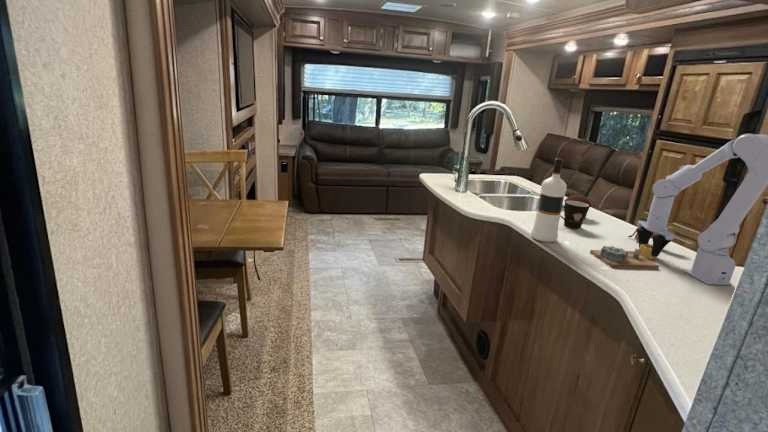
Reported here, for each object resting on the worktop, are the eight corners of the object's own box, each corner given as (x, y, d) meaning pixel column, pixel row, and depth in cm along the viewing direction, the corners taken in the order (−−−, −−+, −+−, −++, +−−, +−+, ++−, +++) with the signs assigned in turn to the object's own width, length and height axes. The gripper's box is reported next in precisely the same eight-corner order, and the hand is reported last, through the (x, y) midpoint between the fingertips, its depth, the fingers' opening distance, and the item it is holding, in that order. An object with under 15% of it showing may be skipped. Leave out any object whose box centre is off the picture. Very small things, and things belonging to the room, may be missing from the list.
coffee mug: (584, 226, 169) (589, 203, 166) (581, 231, 162) (587, 207, 159) (555, 220, 175) (560, 198, 172) (551, 225, 168) (556, 202, 165)
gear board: (658, 269, 129) (661, 257, 128) (611, 267, 127) (614, 255, 126) (633, 254, 141) (636, 243, 139) (589, 253, 139) (592, 241, 138)
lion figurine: (672, 250, 148) (678, 226, 146) (665, 252, 145) (672, 228, 143) (630, 237, 160) (636, 215, 157) (623, 239, 157) (629, 217, 154)
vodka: (525, 235, 153) (539, 156, 144) (545, 233, 156) (560, 156, 147) (541, 243, 145) (558, 160, 136) (562, 242, 148) (579, 161, 139)
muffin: (581, 222, 175) (586, 199, 172) (556, 215, 183) (561, 194, 180) (592, 218, 183) (597, 196, 180) (568, 211, 191) (572, 191, 188)
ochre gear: (660, 259, 138) (663, 250, 137) (645, 259, 137) (648, 249, 136) (648, 253, 143) (651, 244, 142) (634, 252, 142) (636, 243, 141)
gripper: (687, 222, 129) (675, 261, 133) (654, 209, 143) (644, 245, 147) (666, 221, 128) (655, 260, 132) (635, 208, 142) (626, 244, 146)
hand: (648, 252), depth 140 cm, fingers closed on ochre gear, 5 cm apart
